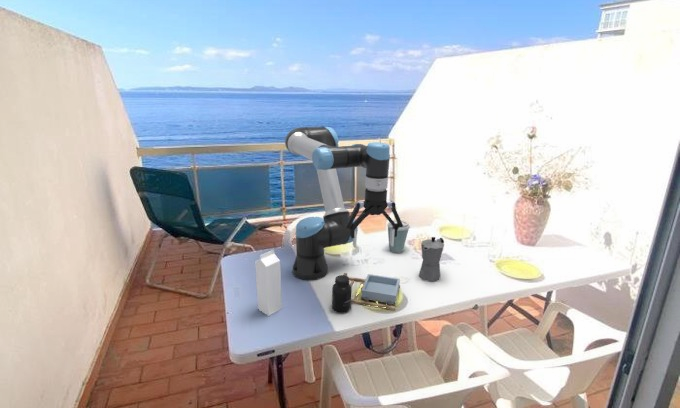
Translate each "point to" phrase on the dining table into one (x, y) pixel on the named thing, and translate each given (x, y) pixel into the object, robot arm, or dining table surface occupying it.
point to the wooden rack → (365, 301)
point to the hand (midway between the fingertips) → (373, 245)
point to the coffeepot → (431, 259)
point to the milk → (268, 283)
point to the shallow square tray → (380, 289)
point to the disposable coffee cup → (398, 237)
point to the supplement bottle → (341, 294)
